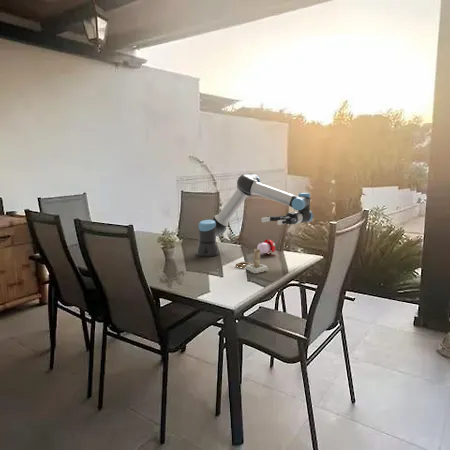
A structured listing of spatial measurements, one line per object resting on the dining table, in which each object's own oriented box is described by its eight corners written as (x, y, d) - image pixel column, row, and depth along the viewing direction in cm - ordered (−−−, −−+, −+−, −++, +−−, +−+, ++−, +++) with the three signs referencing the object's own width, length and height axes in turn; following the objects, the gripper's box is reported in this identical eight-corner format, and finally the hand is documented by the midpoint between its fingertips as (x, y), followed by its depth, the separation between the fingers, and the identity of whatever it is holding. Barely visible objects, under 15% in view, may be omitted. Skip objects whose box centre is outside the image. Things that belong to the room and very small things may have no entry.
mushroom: (265, 255, 262) (280, 253, 268) (262, 239, 263) (277, 237, 269) (257, 257, 271) (271, 255, 277) (254, 241, 273) (268, 239, 278)
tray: (245, 270, 232) (245, 265, 231) (257, 268, 237) (257, 263, 237) (256, 273, 225) (256, 268, 224) (267, 271, 230) (267, 266, 230)
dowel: (252, 269, 231) (252, 249, 229) (256, 268, 233) (257, 248, 232) (256, 270, 228) (257, 250, 227) (260, 269, 231) (261, 249, 229)
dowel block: (235, 266, 240) (235, 263, 240) (244, 264, 245) (244, 261, 244) (243, 269, 235) (243, 265, 235) (251, 267, 239) (251, 263, 239)
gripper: (308, 226, 240) (284, 230, 227) (279, 221, 259) (255, 225, 246) (309, 214, 239) (285, 217, 226) (279, 210, 258) (255, 213, 245)
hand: (269, 221), depth 236 cm, fingers open, 13 cm apart
